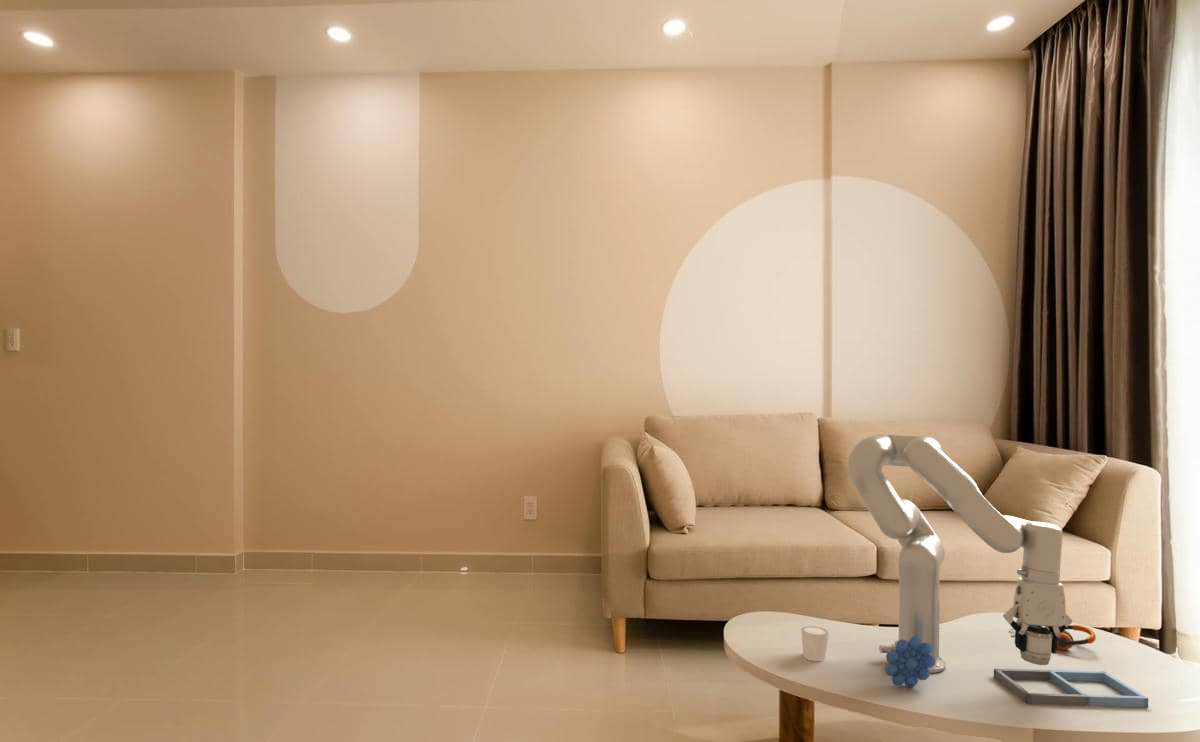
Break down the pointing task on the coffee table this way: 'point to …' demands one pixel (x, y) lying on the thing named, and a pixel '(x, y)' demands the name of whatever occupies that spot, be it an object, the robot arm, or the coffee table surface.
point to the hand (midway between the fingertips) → (1035, 649)
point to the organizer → (1070, 688)
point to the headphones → (1067, 640)
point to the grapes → (909, 662)
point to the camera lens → (1037, 645)
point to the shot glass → (814, 643)
